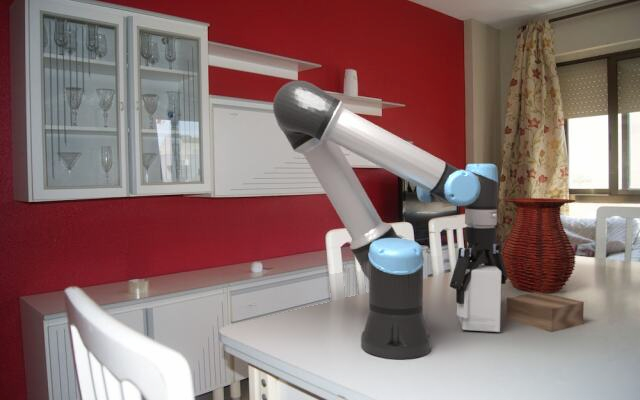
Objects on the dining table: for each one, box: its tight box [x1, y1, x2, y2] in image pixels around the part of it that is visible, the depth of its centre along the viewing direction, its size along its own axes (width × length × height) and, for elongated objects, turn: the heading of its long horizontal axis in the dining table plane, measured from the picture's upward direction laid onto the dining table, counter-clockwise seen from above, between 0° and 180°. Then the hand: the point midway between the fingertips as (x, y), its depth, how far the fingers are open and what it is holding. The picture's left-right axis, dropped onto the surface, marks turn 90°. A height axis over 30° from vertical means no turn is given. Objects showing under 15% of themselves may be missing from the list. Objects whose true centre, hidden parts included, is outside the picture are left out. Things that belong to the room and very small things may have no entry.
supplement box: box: [458, 264, 502, 333], centre depth 123 cm, size 9×9×15 cm
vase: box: [501, 197, 577, 294], centre depth 166 cm, size 23×24×30 cm
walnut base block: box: [506, 292, 585, 333], centre depth 129 cm, size 13×13×6 cm
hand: (479, 312), depth 124 cm, fingers closed on supplement box, 12 cm apart
